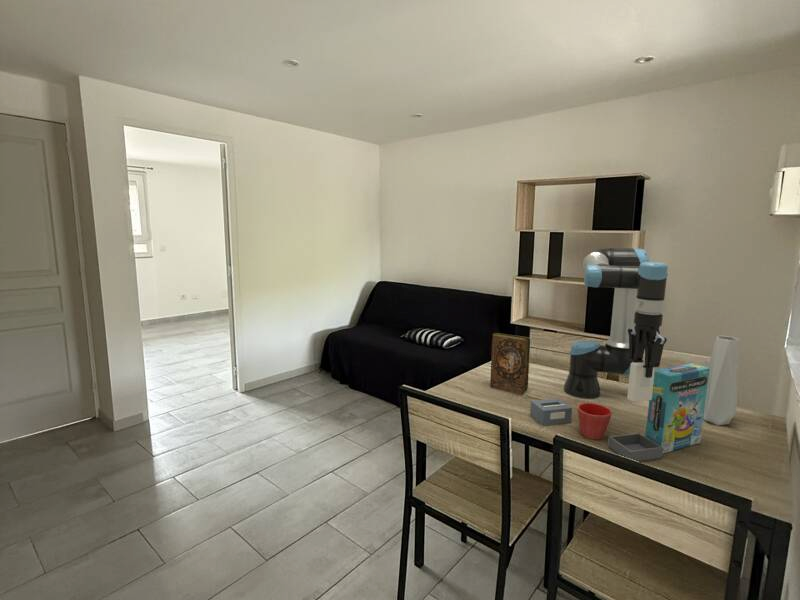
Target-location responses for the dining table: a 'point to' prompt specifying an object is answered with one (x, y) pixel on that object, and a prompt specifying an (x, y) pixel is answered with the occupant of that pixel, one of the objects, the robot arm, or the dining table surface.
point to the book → (510, 363)
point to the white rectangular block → (639, 384)
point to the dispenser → (551, 411)
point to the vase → (722, 381)
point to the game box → (677, 406)
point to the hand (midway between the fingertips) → (641, 384)
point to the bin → (635, 447)
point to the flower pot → (593, 420)
